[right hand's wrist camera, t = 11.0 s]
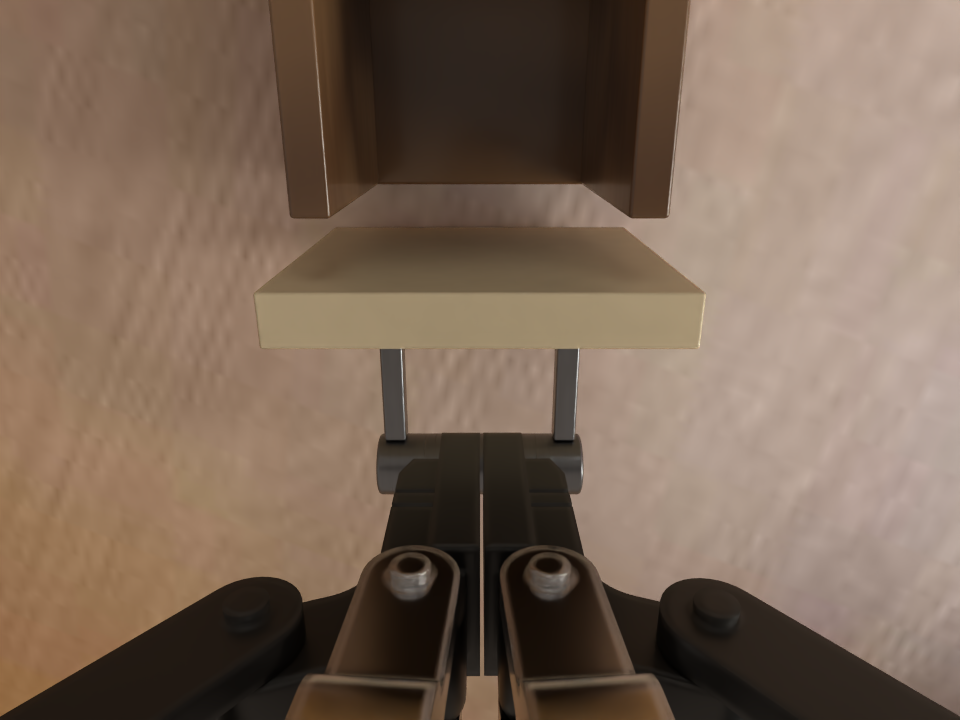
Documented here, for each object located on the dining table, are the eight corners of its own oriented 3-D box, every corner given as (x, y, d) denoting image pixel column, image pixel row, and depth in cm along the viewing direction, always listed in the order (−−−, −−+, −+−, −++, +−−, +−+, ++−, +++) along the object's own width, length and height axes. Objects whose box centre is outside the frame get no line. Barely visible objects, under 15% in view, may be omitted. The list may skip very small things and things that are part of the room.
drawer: (609, 428, 23) (671, 580, 16) (350, 428, 23) (288, 580, 16) (678, -491, 15) (879, -1098, 7) (280, -491, 15) (78, -1097, 7)
